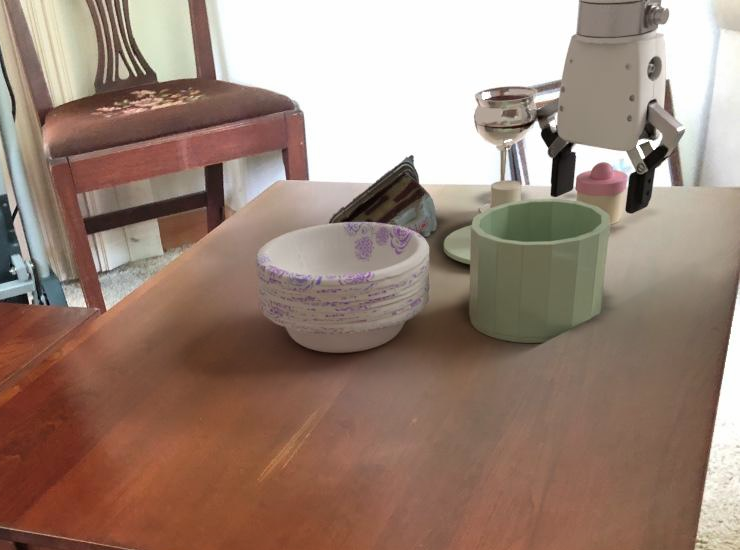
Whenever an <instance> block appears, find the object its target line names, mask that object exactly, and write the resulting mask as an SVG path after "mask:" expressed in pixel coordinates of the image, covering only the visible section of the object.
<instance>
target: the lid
mask: <svg viewBox="0 0 740 550" xmlns="http://www.w3.org/2000/svg"><path fill="white" fill-rule="evenodd" d="M518 201H522V183H521V182H520V181H518V180H507V179H505V181H500V180H498V181H495V182H493V183H492V184H491V185H490V208H493V207H496V206H499V205H502V204H505V203H512V202H518ZM471 225H472V224H469V225H467V226H464V227H461V228H459V229H456V230H454V231H452V232H450V233H449V235H447V236H446V237H445V239H444V240H443V251H444V253H445V254H446V255H447V256H448V257H449V258H451V259H452V260H454V261H457V262H460V263H462V264H466V265H470V249H471Z"/></svg>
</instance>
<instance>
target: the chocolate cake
mask: <svg viewBox="0 0 740 550" xmlns="http://www.w3.org/2000/svg"><path fill="white" fill-rule="evenodd" d="M414 159H415V157H414V155H413V154H411V155H409V156H406V157H405V158H404V159H403V160H402V161H401V162H399V163H398V164H397V165H395V166H394V167H393V168H391V169H390V170H388V171H387V172H385V173H384V174H383V175H382V176H381V177H380V178H378V179H377V180H376V181H375V182H373V183H372V184H371V185H370V186H368V187H367V188H366V189H365V190H364V191H362V192H361V193H359V194H358V195H357V196H356V197H354V198H353V199H352V201H350V202H349V203H348V204H346V205H345V206H342V207H341V208H340V209H338V210H337V211H336V212H335V213H333V214H332V216H331V217H330V218H329V220H328V222H327V224H331V223H343V222H375V223H385V224H390V225H396V226H400V227H404V228H408V229H410V230H413V231H415V232H417V233H419V234H420V235H422V236H423V237H424V238H427V237H430V236H431V232H435V231H436V229H437V227H438V222H437V216H436V213H437V212H436V207H435V203H434V199H433V198H432V196H431V194H430V193H429V192H428V191H427V190H426V189H425V188H424V187H423V185H421V183H420V178H419V173H418V171H417V169H416V167H415V164H414V162H415V160H414Z"/></svg>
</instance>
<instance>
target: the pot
mask: <svg viewBox="0 0 740 550" xmlns="http://www.w3.org/2000/svg"><path fill="white" fill-rule="evenodd" d="M470 225H471V249H470V264H469V300H468V301H469V304H468V305H469V307H468V316H469V321H470V323H471V325H472V326H473V328H474V329H475V330H477V331H478V332H480V333H482V334H484V335H485V336H488V337H491V338H493V339H497V340H501V341H506V342H512V343H521V344H542V343H547V342H548V341H551V340H552V339H554V338H556V337H558V336H560V335H562V334H564V333H565V332H568V331H569V330H571V329H573V328H576V327H577V326H579V325H581V324H583V323H584V322H586V321H589V320H591V319H592V318H594V317H596V316H598V315H600V314H601V310H602V301H603V300H602V299H603V290H604V283H605V282H604V281H605V274H606V273H605V272H606V263H607V254H608V247H609V237H610V227H611V225H610V217H609V214H608V213H606V212H605V211H603V210H602V209H601V208H599V207H597V206H594V205H590V204H587V203H583V202H580V201H576V200H569V199H560V198H540V199H539V198H538V199H524V200H521V201H518V202H512V203H505V204H502V205H499V206H496V207H493V208H490V209H487V210H484V211H483V212H480V213H479V214H477V215H476V216H473V218H472V222H471V224H470Z"/></svg>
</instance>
